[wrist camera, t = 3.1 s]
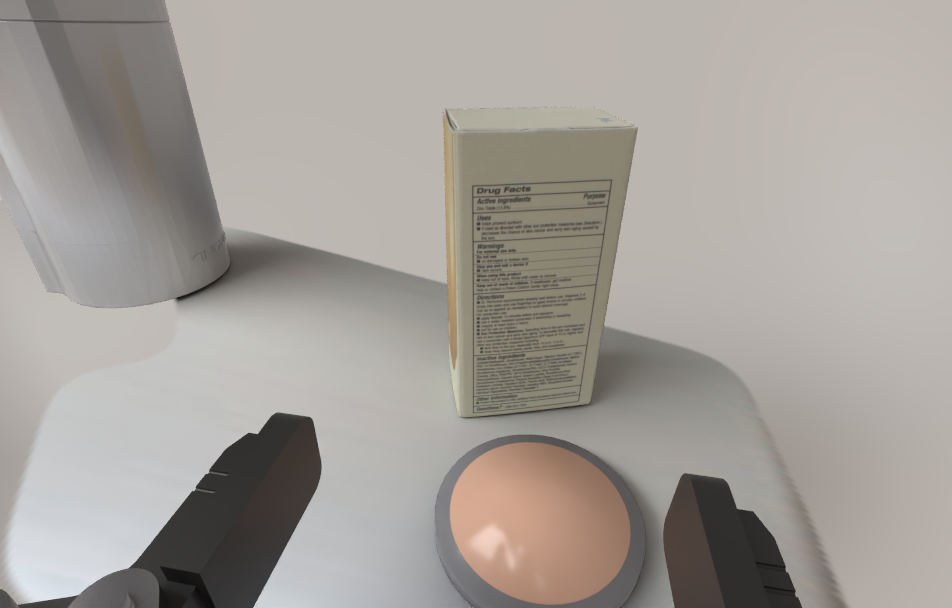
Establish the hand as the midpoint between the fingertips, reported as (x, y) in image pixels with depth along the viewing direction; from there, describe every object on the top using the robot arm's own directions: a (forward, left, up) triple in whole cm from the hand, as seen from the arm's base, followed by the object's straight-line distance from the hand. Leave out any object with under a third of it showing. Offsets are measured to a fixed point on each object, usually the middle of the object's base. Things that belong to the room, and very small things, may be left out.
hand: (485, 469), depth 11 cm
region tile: (+2, +3, -7) cm, 8 cm away
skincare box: (+2, +11, -7) cm, 13 cm away
